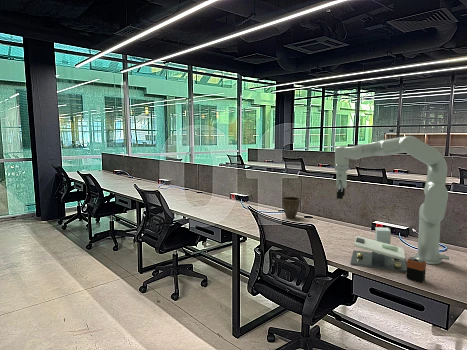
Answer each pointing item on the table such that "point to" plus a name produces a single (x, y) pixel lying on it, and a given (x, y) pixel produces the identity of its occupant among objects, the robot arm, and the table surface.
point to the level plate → (379, 247)
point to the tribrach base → (378, 261)
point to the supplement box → (382, 235)
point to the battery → (416, 269)
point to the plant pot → (290, 206)
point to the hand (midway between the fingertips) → (340, 197)
